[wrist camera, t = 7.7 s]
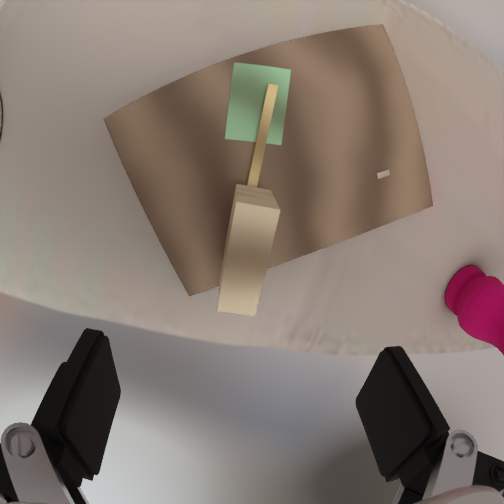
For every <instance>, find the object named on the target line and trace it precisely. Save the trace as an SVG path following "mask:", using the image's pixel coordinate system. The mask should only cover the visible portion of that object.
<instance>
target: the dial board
mask: <svg viewBox="0 0 504 504" xmlns="http://www.w3.org/2000/svg"><path fill="white" fill-rule="evenodd" d="M268 84H273V85H278V90H277V95H276V99H275V104H274V108H273V113H272V118H271V123H270V127H269V132H268V137H267V141H266V146H265V151H264V156H263V160H262V165H261V170H260V175H259V180H258V184H257V188H263V189H268V190H271V192H272V194H273V196H274V198H275V200H276V202H277V204H278V206H279V208H280V214H279V219H278V223H277V227H276V231H275V236H274V240H273V244H272V248H271V252H270V256H269V261H268V265H267V269H268V268H270V267H273V266H276V265H279V264H281V263H284V262H287V261H290V260H292V259H295V258H298V257H300V256H303V255H306V254H309V253H311V252H314V251H317V250H319V249H322V248H325V247H327V246H330V245H333V244H335V243H338V242H341V241H343V240H346V239H349V238H351V237H354V236H357V235H359V234H362V233H364V232H367V231H370V230H372V229H375V228H378V227H380V226H383V225H385V224H388V223H390V222H393V221H396V220H398V219H401V218H403V217H406V216H408V215H411V214H413V213H416V212H419V211H421V210H424V209H426V208H429V207H431V206H433V202H432V195H431V188H430V182H429V176H428V171H427V165H426V160H425V155H424V150H423V146H422V141H421V137H420V133H419V128H418V124H417V121H416V117H415V113H414V109H413V106H412V102H411V99H410V96H409V92H408V89H407V86H406V83H405V80H404V77H403V74H402V71H401V68H400V65H399V63H398V60H397V57H396V55H395V52H394V49H393V47H392V44H391V42H390V39H389V37H388V35H387V32H386V30H385V28H384V25H383V24H381V25H372V26H364V27H356V28H349V29H343V30H337V31H332V32H326V33H321V34H316V35H312V36H307V37H303V38H299V39H294V40H290V41H287V42H283V43H279V44H275V45H272V46H268V47H265V48H262V49H258V50H255V51H252V52H249V53H246V54H243V55H240V56H237V57H234V58H231V59H228V60H226V61H223V62H220V63H217V64H215V65H212V66H210V67H207V68H205V69H202V70H200V71H197V72H195V73H192V74H190V75H188V76H185V77H183V78H181V79H179V80H176V81H174V82H172V83H170V84H168V85H166V86H164V87H161V88H159V89H157V90H155V91H153V92H151V93H149V94H147V95H145V96H143V97H142V98H140V99H138V100H136V101H134V102H132V103H130V104H129V105H127V106H125V107H123V108H121V109H120V110H118V111H116V112H114V113H113V114H111V115H109V116H108V117H106V118H104V121H105V124H106V126H107V129H108V131H109V133H110V136H111V138H112V141H113V143H114V145H115V148H116V150H117V152H118V155H119V157H120V159H121V161H122V164H123V166H124V168H125V170H126V173H127V175H128V177H129V179H130V181H131V183H132V186H133V188H134V190H135V192H136V194H137V196H138V198H139V200H140V202H141V205H142V207H143V209H144V211H145V213H146V215H147V217H148V219H149V221H150V223H151V225H152V227H153V229H154V231H155V233H156V235H157V237H158V239H159V241H160V243H161V245H162V246H163V248H164V250H165V252H166V254H167V256H168V258H169V260H170V262H171V264H172V265H173V267H174V269H175V271H176V273H177V275H178V277H179V278H180V280H181V282H182V284H183V286H184V287H185V289H186V291H187V293H188V295H189V296H191V295H194V294H197V293H200V292H203V291H206V290H208V289H211V288H214V287H217V286H219V283H220V273H221V267H222V261H223V256H224V250H225V244H226V238H227V233H228V227H229V222H230V216H231V211H232V205H233V200H234V195H235V189H236V184H241V185H246V186H247V183H248V178H249V173H250V168H251V163H252V158H253V153H254V148H255V144H256V139H257V134H258V129H259V124H260V120H261V115H262V110H263V105H264V101H265V96H266V91H267V87H268Z"/></svg>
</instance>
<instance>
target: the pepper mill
mask: <svg viewBox="0 0 504 504" xmlns="http://www.w3.org/2000/svg"><path fill="white" fill-rule="evenodd" d="M445 302H446V305H447V306H448V308H449V309H450V310H451V311H452V312H453V313H454V314H455V315H457V316H458V322H459V325H460V327H461V328H462V329H463V330H464V331H465V332H466V333H467V334H468V335H470V336H472V337H474V338H476V339H479V340H482V341H485V342H487V343H490V344H492V345H494V346H495V347H497V348H498V349H499V350H500V351H501V352H502V353H503V355H504V285H503V284H502V282H501V281H500V280H499V279H497V278H496V277H493V276H486V275H485V273H484V272H482V271H481V270H480V269H479V268H477V267H476V266H472V265H471V266H466V267H464V268H462V269H461V270H459V271H458V272H457V273H456V274H455V275H454V277H453V278H452V279H451V281H450V283H449V285H448V287H447V290H446V294H445Z"/></svg>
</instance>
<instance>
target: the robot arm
mask: <svg viewBox="0 0 504 504" xmlns="http://www.w3.org/2000/svg"><path fill="white" fill-rule="evenodd" d="M1 119H2V110H1V100H0V131H1ZM120 393H121V390H120V385H119V381H118V377H117V373H116V369H115V365H114V361H113V356H112V352H111V348H110V343H109V339H108V337H107V336H104V333H103V332H102V331H99V330H93V329H88V328H87V329H85V330H84V331H83V333H82V335H81V337H80V338H79V340H78V342H77V344H76V346H75V347H74V349H73V351H72V353H71V355H70V357H69V359H68V360H67V362H63V363H62V364H61V365H60V367H59V368H58V370H57V372H56V374H55V376H54V378H53V380H52V382H51V384H50V386H49V388H48V390H47V392H46V394H45V396H44V398H43V400H42V402H41V404H40V406H39V408H38V410H37V413H36V415H35V417H34V419H33V421H32V424H31V425H29V424H27V423H14V424H12V425H10V426H8V427H7V428H6V429H5V430H4V432H3V434H2V437H1V443H0V504H89V503H88V501H87V499H86V497H85V496H84V494H83V492H82V490H81V488H80V486H81V483H82V479H83V478H85V479H88V480H93V476H94V475H97V474H99V471H100V467H101V463H102V459H103V455H104V451H105V447H106V444H107V440H108V436H109V433H110V429H111V425H112V422H113V418H114V415H115V412H116V408H117V405H118V402H119V398H120ZM356 407H357V410H358V412H359V415H360V418H361V421H362V423H363V426H364V429H365V432H366V434H367V437H368V440H369V443H370V445H371V448H372V451H373V454H374V457H375V459H376V462H377V465H378V468H379V471H380V473H381V475H382V476H384V477H385V479H386V482H390V481H393V480H397V479H399V478H400V480H401V486H400V489H399V491H398V493H397V495H396V497H395V500H394V502H393V504H504V462H503V461H502V460H499V459H496V458H494V457H492V456H489V455H486V454H484V453H482V452H479V451H478V449H477V448H478V447H477V442H476V440H475V438H474V437H473V436H472V435H471V434H470V433H469V432H467V431H464V430H455V431H453V432H451V434H450V435H449V433H448V431H449V429H450V427H449V426H448V424H447V422H446V420H445V418H444V417H443V415H442V413H441V411H440V410H439V408H438V406H437V404H436V403H435V401H434V399H433V397H432V395H431V394H430V392H429V390H428V389H427V387H426V385H425V383H424V382H423V380H422V379H421V377H420V375H419V374H418V372H417V370H416V369H415V367H414V366H413V364H412V362H411V361H410V359H409V357H408V356H407V354H406V353H405V351H404V349H403V348H402V347H400V346H395V347H386V348H385V349H384V350H383V351H381V352H380V354H379V356H378V358H377V360H376V362H375V364H374V366H373V368H372V370H371V372H370V374H369V376H368V378H367V379H366V381H365V383H364V385H363V387H362V389H361V390H360V392H359V394H358V396H357V398H356Z"/></svg>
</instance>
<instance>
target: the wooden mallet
mask: <svg viewBox="0 0 504 504" xmlns="http://www.w3.org/2000/svg"><path fill="white" fill-rule="evenodd" d="M277 90H278V85H273V84H268V87H267V91H266V96H265V101H264V105H263V110H262V115H261V120H260V124H259V129H258V134H257V139H256V144H255V148H254V153H253V158H252V163H251V168H250V173H249V178H248V183H247V186H246V185H241V184H236V189H235V195H234V200H233V205H232V211H231V216H230V222H229V227H228V233H227V238H226V244H225V250H224V256H223V261H222V267H221V273H220V283H219V294H218V305H217V311H221V312H228V313H235V314H243V315H250V316H255V313H256V309H257V305H258V301H259V297H260V293H261V289H262V285H263V281H264V277H265V273H266V269H267V265H268V261H269V256H270V252H271V248H272V244H273V240H274V236H275V231H276V227H277V223H278V219H279V214H280V208H279V206H278V204H277V202H276V200H275V198H274V196H273V194H272V192H271V190H268V189H263V188H257V184H258V180H259V175H260V170H261V165H262V160H263V156H264V151H265V146H266V141H267V137H268V132H269V127H270V123H271V118H272V113H273V108H274V104H275V99H276V95H277Z"/></svg>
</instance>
